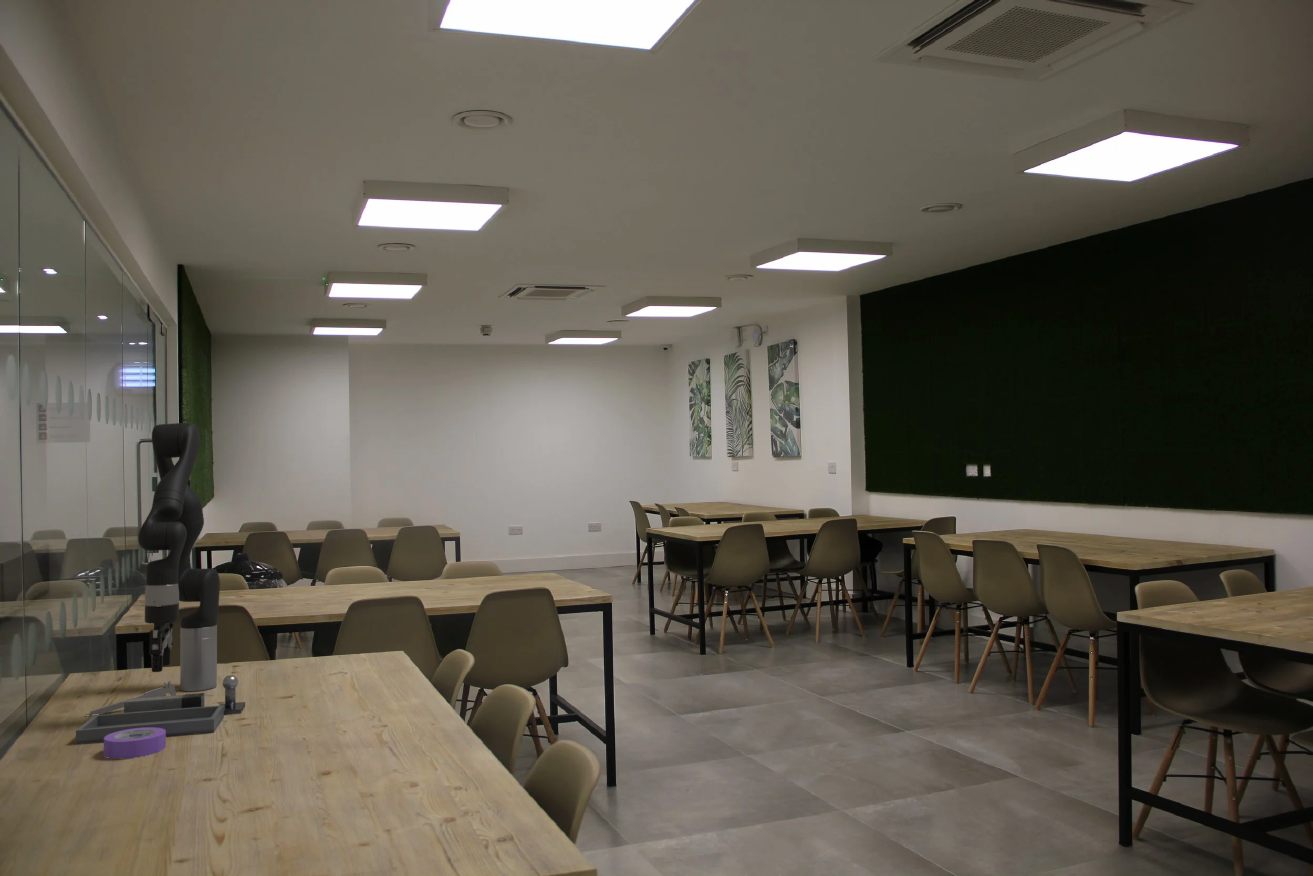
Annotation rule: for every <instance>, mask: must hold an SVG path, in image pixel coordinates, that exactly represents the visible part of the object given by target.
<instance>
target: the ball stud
mask: <svg viewBox="0 0 1313 876" xmlns="http://www.w3.org/2000/svg"><path fill="white" fill-rule="evenodd" d="M238 684H239V679H238V677H237V676H235V675H232V674H230V675H226V676H225V677H224V678H223V680H222V687H223V688H224V703H219V704H218V706H219V705H224V715H236V714H238V715H239V714H242V712H243V711H244V709H245V707H246V701H239V702H236V700H237V699H236V688H237V686H238Z"/></svg>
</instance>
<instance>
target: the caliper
mask: <svg viewBox="0 0 1313 876" xmlns="http://www.w3.org/2000/svg"><path fill="white" fill-rule="evenodd" d="M163 685H164V686H161V687H157V688H155V689H151V690H148V691H146V692H143V694H140V695H137V696H135V697H131V698H130V699H135V698H148V697H161V696H167V695H168V694H170V696H175V695H177V690H176V687H175V685H174V683H173V684H172V683H171V681H170V680H168V682H167V683H166V682H163ZM126 700H127V699H125V700H122V701H118V702H115V703H112V704H108V705H106V706H102V707H99V708H95V709H93V710H89V713H86V714H85V715H93V714H101V715H103V714H102V713H104V714H108V713H111V712H113V711H116V710H120V709H124V702H125V701H126Z"/></svg>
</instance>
